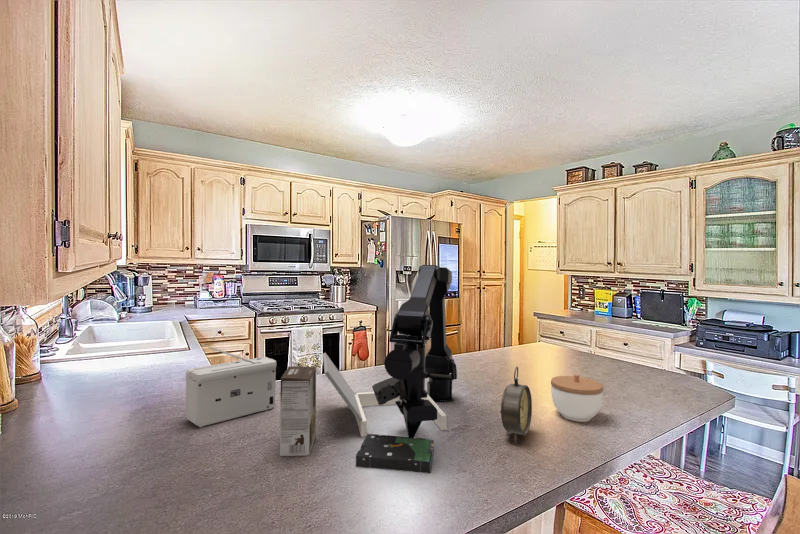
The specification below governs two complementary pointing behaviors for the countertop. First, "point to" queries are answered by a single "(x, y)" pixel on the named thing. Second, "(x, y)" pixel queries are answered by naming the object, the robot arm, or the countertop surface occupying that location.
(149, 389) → the countertop surface
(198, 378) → the stereo radio cassette player
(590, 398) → the lidded bowl
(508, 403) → the alarm clock
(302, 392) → the coffee box
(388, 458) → the disk drive
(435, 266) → the robot arm
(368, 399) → the beige bent panel frame
